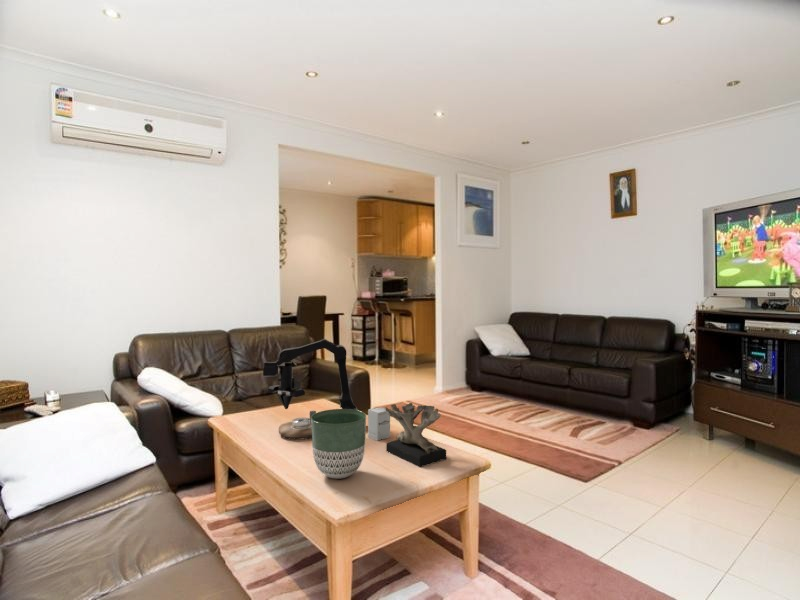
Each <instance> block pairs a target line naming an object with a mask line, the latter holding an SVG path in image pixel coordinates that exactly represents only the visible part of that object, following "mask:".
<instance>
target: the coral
mask: <svg viewBox="0 0 800 600" xmlns="http://www.w3.org/2000/svg"><path fill="white" fill-rule="evenodd" d="M383 408H384V409H385V412H386V413H387V414H389V415H390V418H391V417H392V418H393V419H395V420H396V421H397V422H398V423H399V424H400V425H401V427H402V428H403V430H404V431H401V432H400V433H398V434H397V435H396V438H397V439H394V440H391V441H388V442H386V445H385V449H386V450H385V452H387V451H388V452H387V453H389V452H390V453H389V454H391V455H393V456H395V457H397V458H400V459H402V460H404V461H406V462H407V463H410V464H412V465H414V466H417V467H418V468H422V467H425V466H428V465H430V464H434V463H437V462H441V461H444V460H446V459H447V449H445V448H443V447H441V446H437V445H435V443H433V442H431V441H429V439H427V438H426V437H425V436H423V434H422V433H423V431H424V430H425V429H426V428H427V427H429V426H431V425H433V424H434V423H435V422H437V420H439V419H440V417H441V416H442V415H441V414H440V413H439V408H435V405H420V404H419V405H418V406H417V407H416V405H414V404H413V403H412V402H410V403H406V404H405V405H402V406H401V410H402V411H401V410H400V408H399V407H397V404H394V403H393V404H390V408H391V409H390V408H388V407H387V406H384V407H383ZM415 409H416V410H415ZM420 413H421V414H420ZM419 415H421V416H420V417H421V418H420V424H418V425H414V424H415V419H417V417H418V416H419Z"/></svg>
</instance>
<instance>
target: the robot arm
mask: <svg viewBox="0 0 800 600" xmlns="http://www.w3.org/2000/svg"><path fill="white" fill-rule="evenodd" d="M322 349H325V350H326V351H329V352H330V353H331V354H334V357H335V359H336V363H337V366H338V374H339V381H340V388H341V396H338V400H339V409H353V410H358V411H359V409H358V407H357V406H356V405H355V404H354V402H353V399H352V396H351V393H350V387H349V379H348V372H347V349H346V347H345V346H344V345H342V344H336V343H334V342H332V341H330V340H328V339H326V338H322V339H321V340H318V341H315V342H311V343H308V344H305V345H302V346H298V347H289V348H284V349H283V350H281V352H280V353H279V358H278V359H277V360H276V361H264V363H263V369H262V374H263V377H264V378H265V377H266V378H267V377H277V375H279V377H278V378H277V381H279V384H275V385H270V386H269V387H268V388H267V391H268V393H269V394H274V393H275V392H277V394H276V396H277V397H278V399H279V401H280V402H281V404H282V406H283V408H284V409H285V410H288V409H289V407H290V404H291V400H292V398H299V397H302V396H305V395H306V390H305V389H304V388H302V384H303V382H302V381H297V380H296V378H295V377H294V376H293V368H294V367H297V363H296V362H295V361H294V360H295V359H297V358H298V357H300V356H302V355H306V354H309V353H312V352H315V351H320V350H322ZM283 363H284V364H283Z"/></svg>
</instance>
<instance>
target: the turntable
mask: <svg viewBox="0 0 800 600" xmlns="http://www.w3.org/2000/svg"><path fill="white" fill-rule="evenodd" d="M315 413H317V411H316V410H309V419H310V427H308V428H305V429H294V428H293V427H292V421H288V422H287V421H286V422H285V423H282V424H280V425H279V426H278V433H279V435H281V436H283V437H284V436H287V437H306V436H311V435H312V429H311V416H312V415H313V414H315Z"/></svg>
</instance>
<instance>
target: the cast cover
mask: <svg viewBox="0 0 800 600" xmlns="http://www.w3.org/2000/svg"><path fill="white" fill-rule="evenodd" d="M292 427H293V428H294V429H305V428H308V427H310V417H296V418H293V419H292Z"/></svg>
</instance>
